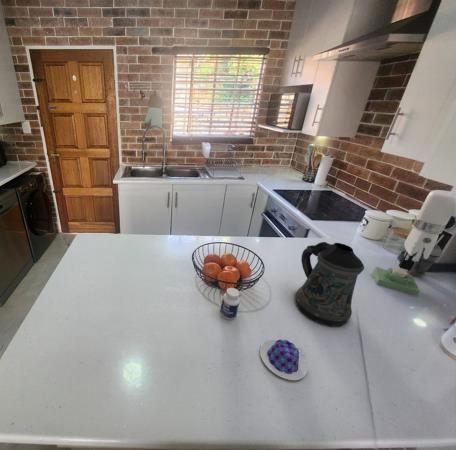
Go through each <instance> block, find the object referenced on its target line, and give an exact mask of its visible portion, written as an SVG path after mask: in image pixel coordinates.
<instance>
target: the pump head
mask: <svg viewBox="0 0 456 450" xmlns="http://www.w3.org/2000/svg"><path fill="white" fill-rule="evenodd" d="M392 269H393V271H392V274H394V275H395V276H398V277H401V278H405V277H406V275H408V273H407V270H406V269H402V268H400V267H394V268H392Z"/></svg>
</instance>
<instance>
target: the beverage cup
mask: <svg viewBox="0 0 456 450" xmlns="http://www.w3.org/2000/svg"><path fill="white" fill-rule="evenodd" d="M444 237H445V235H444V234H442V235H441V236H440V237H439V238H438V239H437V241H436V243H435V246H434V248H433V250H432V252H431V253H430V255H429V257H428V258H427V259H424V258H423V257H422V255H421V256H420V259H419V261H418V262H417V261H416V262H415V263H414V265H413V267H412V268H411V270H406V272H407V275H409V276H411V277H413V278H417V277H418V278H419V279H420V278H422V277H423V275H425V273H426V272H428V270H429V269H430V267H432V266H433V264H434V263H435V262H436V261H437V260H438V259H439V258H440V257H441V255H442V248H441V247H440V246H439V242H440V241H441V240H442V239H443V238H444ZM418 278H417V279H418Z"/></svg>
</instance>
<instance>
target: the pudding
mask: <svg viewBox="0 0 456 450" xmlns="http://www.w3.org/2000/svg"><path fill="white" fill-rule="evenodd" d="M259 355H260V357H261V360H262V362H263V364H264V365H265V366H266V367H267V368H268V369H269V370H270V371H271V372H272V373H273V374H275V375H276V376H278V377H280V378H282V379H285V380H289V381H299V380H302V379H303V378H305V377H306V375H307V373H308V364H307V362H306V360H305V358H304V356H303V355H302V354H301V352H300V351H299V349H298V347H296V345H295V344H294V343H293V342H290V341H289V340H287V339H269V340H266V341H264V342H262V344H261V345H260V349H259Z"/></svg>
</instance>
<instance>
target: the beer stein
mask: <svg viewBox="0 0 456 450" xmlns="http://www.w3.org/2000/svg"><path fill="white" fill-rule="evenodd" d="M312 255H313V256H315V257H317V262H316V264H315V265H314V267H313V266H312V262H311V257H312ZM300 260H301V265H302V270H303V272H304V274H305V277H306V280H305V282H304V283H303V284H302V285H301V286H300V287H299V288H298V289H297V290H296V292H295V299H294V300H295V306H296V308H297V309H298V311H299V312H300V313H302V315H304V316H305V317H306V318H308V319H309V320H310V321H312V322H314V323H317V324H319V325H323V326H327V327H341V326H343V325H344V324H346V323H348V320H349V319H350V318H351V316H352V314H353V310H352V300H353V295H354V290H355V286H356V284H357V279H358V276H359V275H360V274H361V273H362V272H363V271H364V270H365V265H364V263H363V261H362V260H361V259H360V258H359V257H358V256H357V255H356V254H355V252H354V249H353V248H352V247H351V246H350V245H347V244H345V243H341V242H333V244H330V243H329V242H326V241H320V242H318V243H316V244H311V245H307V246H306V247H305V249H304V250H303V251H302V254H301V259H300Z"/></svg>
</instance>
